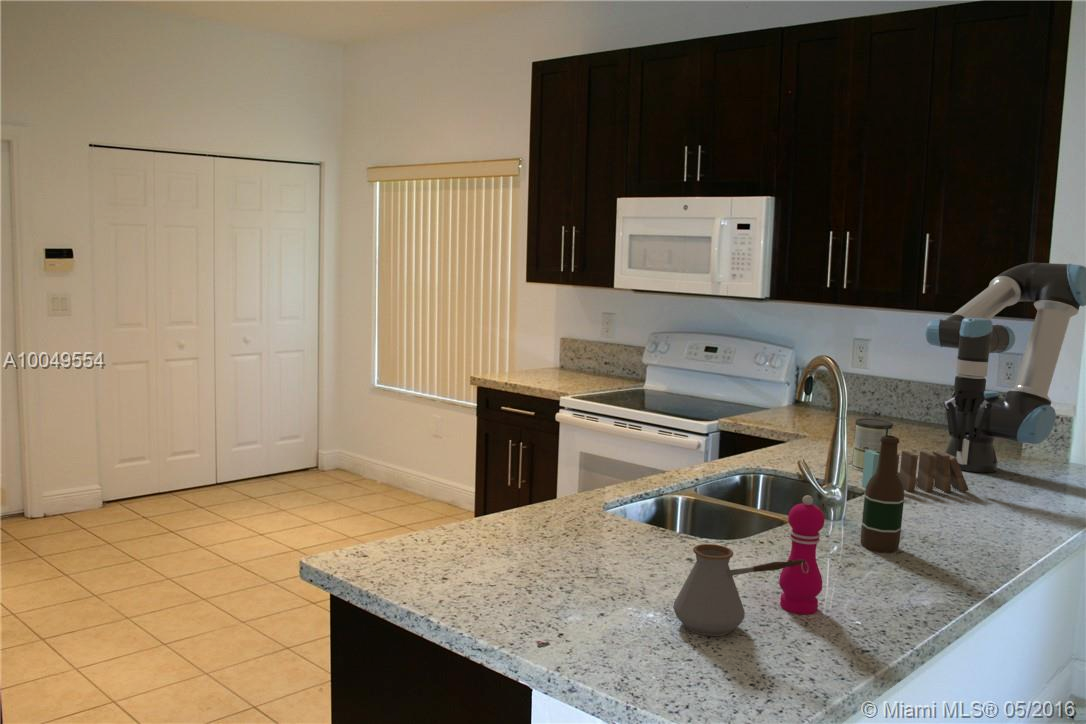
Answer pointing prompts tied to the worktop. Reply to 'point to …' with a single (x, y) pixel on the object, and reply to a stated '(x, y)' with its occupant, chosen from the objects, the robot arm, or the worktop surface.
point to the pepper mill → (804, 541)
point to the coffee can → (868, 438)
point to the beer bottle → (883, 502)
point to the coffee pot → (716, 591)
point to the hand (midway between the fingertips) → (961, 463)
